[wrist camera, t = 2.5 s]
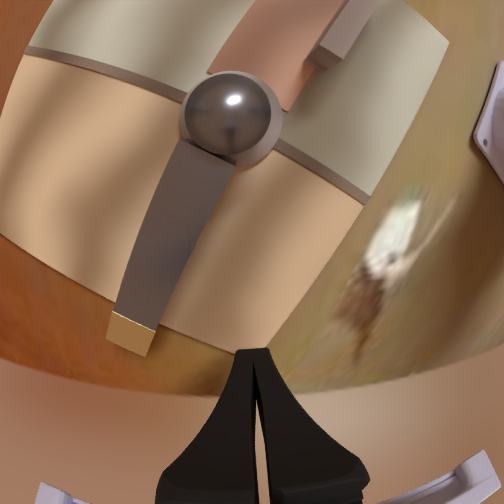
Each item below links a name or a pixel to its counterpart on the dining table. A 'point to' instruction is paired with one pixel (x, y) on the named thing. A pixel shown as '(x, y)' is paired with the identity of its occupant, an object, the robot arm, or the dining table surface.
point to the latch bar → (186, 201)
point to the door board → (174, 128)
